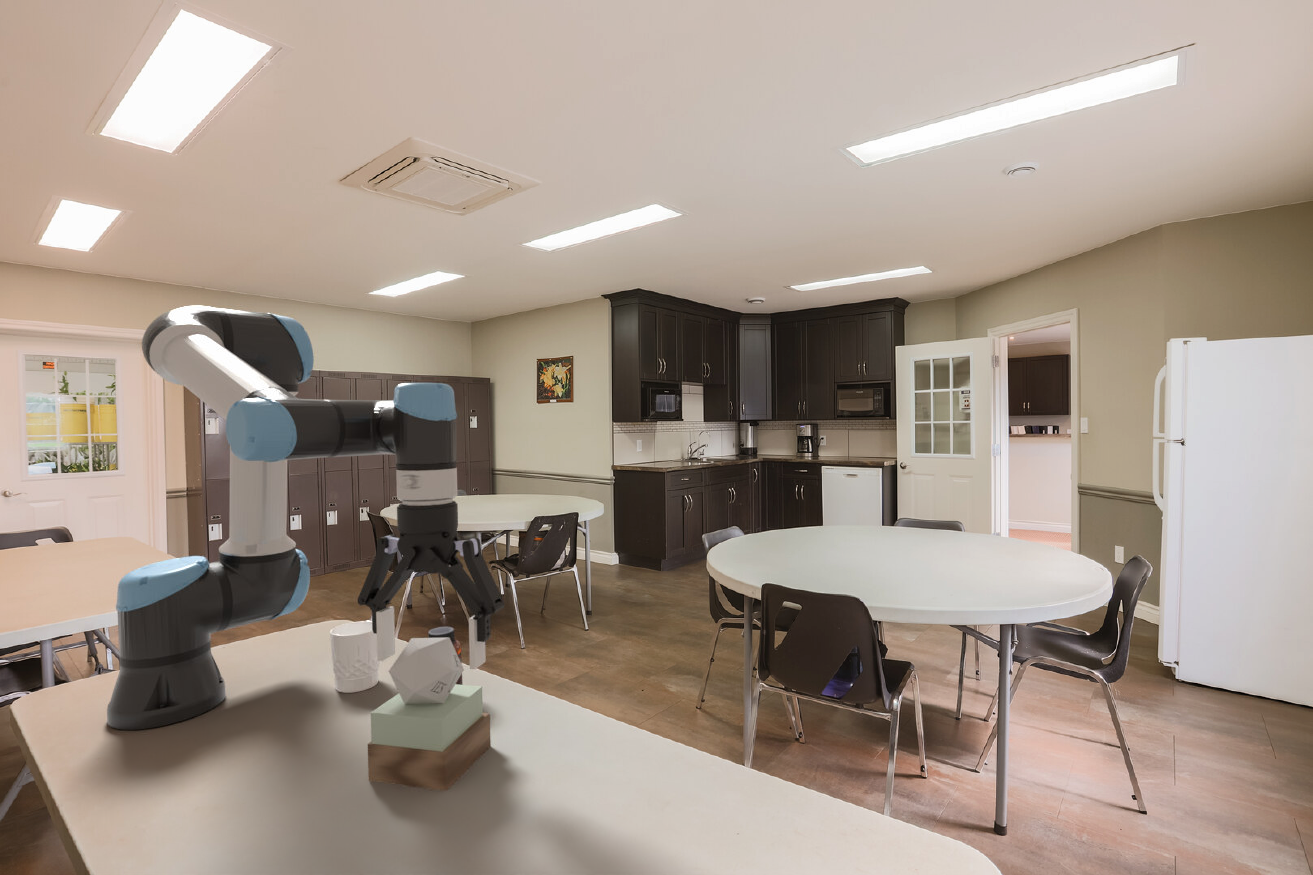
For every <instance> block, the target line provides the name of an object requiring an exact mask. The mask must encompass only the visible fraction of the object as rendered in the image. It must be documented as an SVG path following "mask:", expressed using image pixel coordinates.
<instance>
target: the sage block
mask: <svg viewBox="0 0 1313 875" xmlns="http://www.w3.org/2000/svg"><path fill="white" fill-rule="evenodd" d="M483 708H484V707H483V686H482V685H481V686H479V685H468V684H462V685H459V684H455V686H454V687H453V689H452V690H451V691H450V694H449V696H448V698H447V699H446V701H445V703H444V704H404V702H403V700H402V698H401V696H400V694H399V693H397V694H396V695H394V696H393V697H391V698H390V699H388V700H386V701H385V702H384V703H383V704H381V705H379V706H377V708H375V709H373V710H371V711H370V733H371V734H370V736H371V737H370V738H371V740H370V742H372V744H378V745H387V746H396V747H405V748H414V749H423V750H432V751H441V752H443V751H444V750H445V749H446V748H447V747H448V746H449V745H450V744H452V743H453V742H454V741H455V740H456V739H457V738H458V737H459V736H460V735H461V734H463V733H464V732H465V731H466V730H467V729H468V728H469V727H470V726H471V725H473V724H474V723H475V722H476V721H477V720H478V719H479V718H480V717H481V716H483V713H484V712H483V710H484V709H483Z"/></svg>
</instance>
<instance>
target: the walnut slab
mask: <svg viewBox="0 0 1313 875" xmlns="http://www.w3.org/2000/svg"><path fill="white" fill-rule="evenodd" d="M491 745H492V742H491V714H490V713H489V712H483V716H481V717H480V718H479V719H478V720H477V721H476V722H475V723H474V724H473V725H471V726H470V727H469V728H468V729H467V730H466V731H465V732H464V733H463V734H461V735H460V736H459V737H458V738H457V739H456V740H455V741H454V742H453V743H452V744H450V745H449V746H448V747H447V748H446V749H445V750H444V751H443V752H441V751H432V750H423V749H414V748H405V747H396V746H387V745H378V744H372V742H371V741H370V742H368V743H367V766H368V771H367V772H368V773H367V774H368V781H370V782H378V783H385V784H392V785H400V786H408V787H414V788H422V789H428V790H436V791H445V792H447V791H448V790H449V789H450V788H451V786H453V785H454V784H455V783H456V782H457V781H458V779H460V778H461V777H462V775H463V774H465V773H466V772H467V771H468V769H470V768H471V766H473V765H474V764H475V762H477V761H478V759H480V758H481V756H483V755H484V754H485V753H486V752H487V751H488V750H490V748H491Z"/></svg>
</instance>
